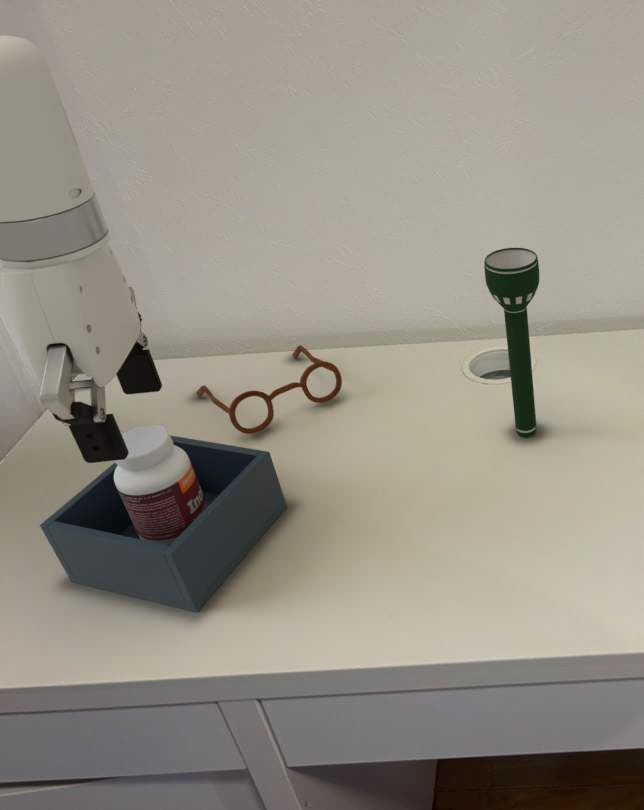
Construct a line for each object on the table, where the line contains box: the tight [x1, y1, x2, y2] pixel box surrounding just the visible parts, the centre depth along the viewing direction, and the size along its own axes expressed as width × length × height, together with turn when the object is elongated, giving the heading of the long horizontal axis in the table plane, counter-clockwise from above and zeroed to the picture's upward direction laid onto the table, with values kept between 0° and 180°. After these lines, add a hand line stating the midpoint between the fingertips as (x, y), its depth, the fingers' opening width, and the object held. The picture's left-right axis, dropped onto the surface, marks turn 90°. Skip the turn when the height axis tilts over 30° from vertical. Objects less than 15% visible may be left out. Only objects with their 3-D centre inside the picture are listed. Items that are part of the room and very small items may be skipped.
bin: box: [39, 434, 288, 613], centre depth 72 cm, size 14×14×7 cm
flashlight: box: [483, 247, 540, 439], centre depth 79 cm, size 5×5×20 cm
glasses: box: [196, 344, 343, 435], centre depth 93 cm, size 13×13×5 cm
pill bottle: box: [114, 424, 208, 546], centre depth 70 cm, size 6×6×11 cm
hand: (127, 423), depth 66 cm, fingers open, 9 cm apart
